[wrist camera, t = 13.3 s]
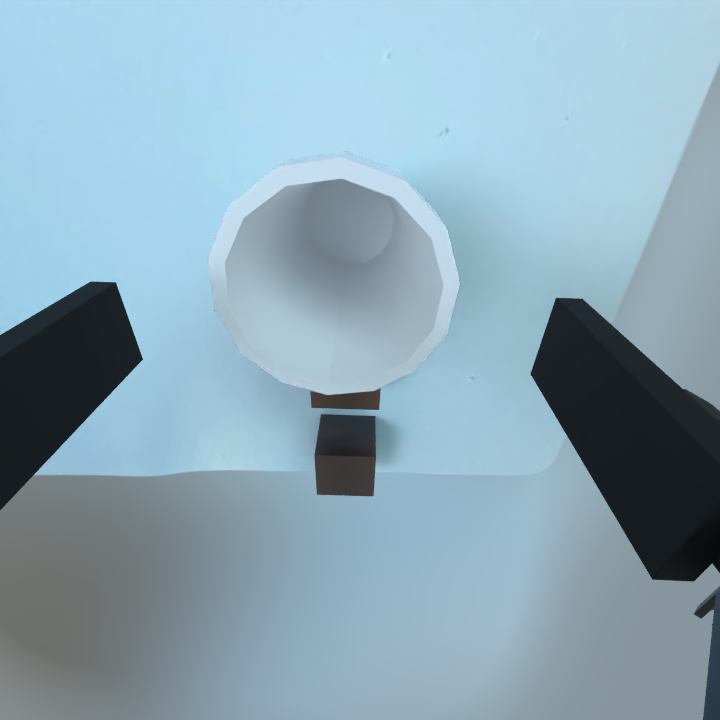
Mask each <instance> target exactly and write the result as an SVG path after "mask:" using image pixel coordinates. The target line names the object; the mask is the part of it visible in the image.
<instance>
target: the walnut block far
mask: <svg viewBox="0 0 720 720" xmlns="http://www.w3.org/2000/svg"><path fill="white" fill-rule="evenodd" d="M375 463H376V433H375V416H351V415H321V419H320V425H319V431H318V437H317V443H316V450H315V470H316V486H317V494H318V495H319V494H320V495H349V496H373V494H374V478H375Z"/></svg>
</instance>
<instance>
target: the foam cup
mask: <svg viewBox="0 0 720 720" xmlns="http://www.w3.org/2000/svg"><path fill="white" fill-rule="evenodd" d="M208 263H209V271H210V279H211V287H212V295H213V303H214V311H215V312H216V314H217V315H218V317H219V319H220V320H221V322H222V323H223V325H224V327H225V328H226V330H227V331H228V333H229V335H230V336H231V338H232V339H233V341H234V342H235V344H236V346H237V347H238V349H239V350H240V352H241V354H243V355H244V356H245V357H247V358H248V359H250V360H251V361H252V362H254V363H255V364H257V365H258V366H259V367H261V368H262V369H263V370H265V371H266V372H268V373H269V374H270V375H272V376H273V377H275V378H276V379H277V380H279V381H280V382H282V383H285V384H289V385H293V386H296V387H300V388H304V389H307V390H311V391H315V392H318V393H322V394H325V395H333V394H345V393H357V392H368V391H375V390H377V389H379V388H381V387H383V386H385V385H387V384H389V383H391V382H393V381H395V380H397V379H399V378H401V377H404V376H406V375H408V374H410V373H412V372H414V371H416V370H417V369H418V368H419V366H420V365H421V364H422V363H423V362H424V360H425V359H426V358H427V357H428V356H429V355H430V353H431V352H432V351H433V350H434V349H435V347H436V346H437V345H438V344H439V343H440V342H441V340H442V339H443V338H444V337H445V336H446V335H447V333H448V329H449V325H450V321H451V317H452V313H453V310H454V306H455V302H456V298H457V294H458V290H459V286H460V281H459V277H458V272H457V268H456V264H455V260H454V255H453V251H452V247H451V242H450V238H449V234H448V230H447V227H446V226H445V224H444V223H443V222H442V220H441V219H440V217H439V216H438V214H437V213H436V212H435V211H434V209H433V208H432V207H431V206H430V205H429V204H428V203H427V201H426V200H425V199H424V198H423V197H422V196H421V195H420V193H419V192H418V191H417V190H416V189H415V188H414V187H413V185H412V184H411V183H410V182H409V181H408V180H407V178H406V177H405V176H404V175H403V174H402V173H401V172H400V171H397V170H394V169H392V168H389V167H387V166H384V165H381V164H379V163H376V162H373V161H371V160H368V159H366V158H363V157H360V156H358V155H355V154H353V153H350V152H347V151H346V152H339V153H332V154H325V155H318V156H311V157H304V158H297V159H290V160H288V161H286V162H285V163H283V164H281V165H279V166H277V167H276V168H275V169H273V170H272V171H271V172H270V173H268V174H267V175H266V176H265V177H263V178H262V179H261V180H259V181H258V182H257V183H256V184H254V185H253V186H252V187H251V188H249V189H248V190H247V191H245V192H244V193H243V194H242V195H240V196H239V197H238V198H237V199H235V200H234V201H233V202H231V203H230V204H229V205H228V208H227V210H226V213H225V215H224V218H223V220H222V223H221V225H220V228H219V231H218V233H217V236H216V238H215V241H214V243H213V246H212V248H211V251H210V254H209V256H208Z"/></svg>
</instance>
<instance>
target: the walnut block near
mask: <svg viewBox="0 0 720 720" xmlns="http://www.w3.org/2000/svg"><path fill="white" fill-rule="evenodd" d="M379 403H380V388H379V389H377V390H375V391H368V392H357V393H345V394H333V395H325V394H322V393H318V392H315V391H311V406H312V408H336V409H367V410H379Z"/></svg>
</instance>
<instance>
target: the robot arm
mask: <svg viewBox="0 0 720 720" xmlns="http://www.w3.org/2000/svg"><path fill="white" fill-rule="evenodd" d="M142 360H143V358H142V355H141V353H140V350H139V347H138V344H137V341H136V338H135V336H134V333H133V330H132V327H131V324H130V321H129V319H128V316H127V313H126V310H125V307H124V304H123V302H122V299H121V296H120V293H119V290H118V287H117V285H116V283H115V282H89V283H87V284H86V285H84V286H82V287H81V288H79V289H77V290H76V291H74V292H72V293H71V294H69V295H67V296H66V297H64V298H62V299H60V300H59V301H57V302H55V303H54V304H52V305H50V306H49V307H47V308H45V309H44V310H42V311H40V312H39V313H37V314H35V315H33V316H32V317H30V318H28V319H27V320H25V321H23V322H22V323H20V324H18V325H17V326H15V327H13V328H11V329H10V330H8V331H6V332H5V333H3V334H1V335H0V510H1V509H2V508H3V507H4V506H5V505H6V504H7V503H8V501H9V500H10V499H11V498H12V497H13V496H14V495H15V494H16V493H17V492H18V491H19V490H20V489H21V488H22V487H23V486H24V484H25V483H26V482H27V481H28V480H29V479H30V478H31V477H32V476H33V475H34V474H35V473H36V472H37V471H38V470H39V469H40V468H41V467H42V466H43V464H44V463H45V462H46V461H47V460H48V459H49V458H50V457H51V456H52V455H53V454H54V453H55V452H56V451H57V450H58V449H59V448H60V446H61V445H62V444H63V443H64V442H65V441H66V440H67V439H68V438H69V437H70V436H71V435H72V434H73V433H74V432H75V431H76V430H77V428H78V427H79V426H80V425H81V424H82V423H83V422H84V421H85V420H86V419H87V418H88V417H89V416H90V415H91V414H92V413H93V412H94V410H95V409H96V408H97V407H98V406H99V405H100V404H101V403H102V402H103V401H104V400H105V399H106V398H107V397H108V396H109V395H110V394H111V392H112V391H113V390H114V389H115V388H116V387H117V386H118V385H119V384H120V383H121V382H122V381H123V380H124V379H125V378H126V377H127V376H128V374H129V373H130V372H131V371H132V370H133V369H134V368H135V367H136V366H137V365H138V364H139V363H140V362H141V361H142ZM531 376H532V377H533V379H534V381H535V382H536V384H537V386H538V387H539V389H540V391H541V392H542V394H543V396H544V397H545V399H546V401H547V403H548V404H549V406H550V408H551V409H552V411H553V413H554V414H555V416H556V418H557V419H558V421H559V423H560V424H561V426H562V428H563V430H564V431H565V433H566V435H567V436H568V438H569V440H570V441H571V443H572V445H573V446H574V448H575V450H576V451H577V453H578V455H579V456H580V458H581V460H582V462H583V463H584V465H585V467H586V468H587V470H588V471H589V473H590V475H591V477H592V478H593V480H594V482H595V483H596V485H597V487H598V488H599V490H600V492H601V494H602V495H603V497H604V498H605V500H606V502H607V504H608V505H609V507H610V509H611V510H612V512H613V514H614V515H615V517H616V518H617V520H618V522H619V524H620V526H621V527H622V529H623V530H624V532H625V534H626V536H627V537H628V539H629V541H630V542H631V544H632V546H633V547H634V549H635V551H636V552H637V554H638V556H639V557H640V559H641V561H642V563H643V564H644V566H645V568H646V569H647V571H648V573H649V574H650V576H651V578H652V579H654V580H675V581H695V580H696V579H697V578H698V577H699V576H700V575H701V574H702V573H703V572H704V570H706V569H707V568H708V567H709V566H710V565H711V564H712V563H713V565H714V566H715V567H716V569H717V570H718V571H719V573H720V411H719V410H717V409H716V408H715V407H714V406H713V405H712V404H710V403H709V402H707V401H705V400H703V399H702V398H700V397H698V396H696V395H695V394H693V393H691V392H689V391H688V390H686V389H682V388H681V387H680V386H679V385H678V384H676V383H675V382H674V381H673V380H672V379H671V378H670V377H669V376H668V375H666V374H665V373H664V372H663V371H662V370H661V369H660V368H659V367H657V366H656V365H655V364H654V363H653V362H652V361H651V360H650V359H649V358H648V357H646V356H645V355H644V354H643V353H642V352H641V351H640V350H639V349H638V348H636V347H635V346H634V345H633V344H632V343H631V342H630V341H629V340H628V339H626V338H625V337H624V336H623V335H622V334H621V333H620V332H619V331H618V330H616V329H615V328H614V327H613V326H612V325H611V324H610V323H609V322H608V321H606V320H605V319H604V318H603V317H602V316H601V315H600V314H599V313H598V312H596V311H595V310H594V309H593V308H592V307H591V306H590V305H589V304H588V303H586V302H585V301H584V300H583V299H574V298H556V300H555V303H554V306H553V309H552V312H551V315H550V318H549V321H548V324H547V326H546V329H545V332H544V335H543V338H542V341H541V344H540V347H539V350H538V353H537V356H536V359H535V362H534V365H533V368H532V371H531ZM711 610H714V617H713V624H712V626H713V627H712V637H711V647H710V657H709V667H708V677H707V687H706V697H705V706H704V717H703V720H720V587H718V588H717V589H716V590H715V591H714V592H713V593H712V594H711V595H710V596H709V597H708V598H707V599H705V600H704V601H703V602H702V603H701V604H700V605H699V606H698V607H697V609H696V611H695V613H694V614H695V615H696V616H698V617H699V618H702V617H704V616H705V615H706V614H707V613H708V612H709V611H711Z"/></svg>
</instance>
